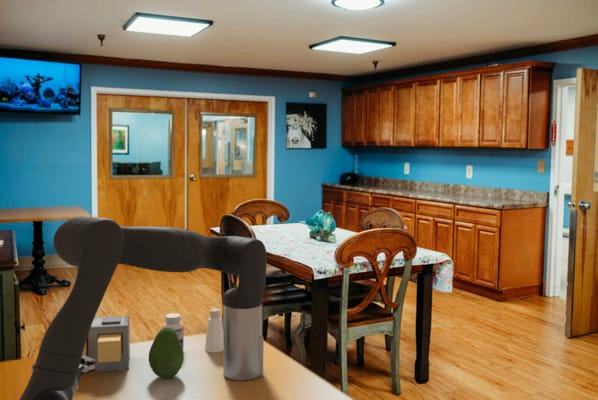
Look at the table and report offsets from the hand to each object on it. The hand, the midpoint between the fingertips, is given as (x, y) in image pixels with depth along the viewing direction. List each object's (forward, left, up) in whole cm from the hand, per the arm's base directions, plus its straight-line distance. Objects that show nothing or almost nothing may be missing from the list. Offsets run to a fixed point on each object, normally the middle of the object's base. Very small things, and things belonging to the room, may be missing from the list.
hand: (70, 353), depth 131 cm
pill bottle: (-23, -21, -9) cm, 32 cm away
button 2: (-8, -9, -4) cm, 13 cm away
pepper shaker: (-34, -20, -9) cm, 40 cm away
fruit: (-21, -3, -9) cm, 23 cm away
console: (-4, -14, -8) cm, 17 cm away
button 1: (0, -12, -4) cm, 13 cm away
